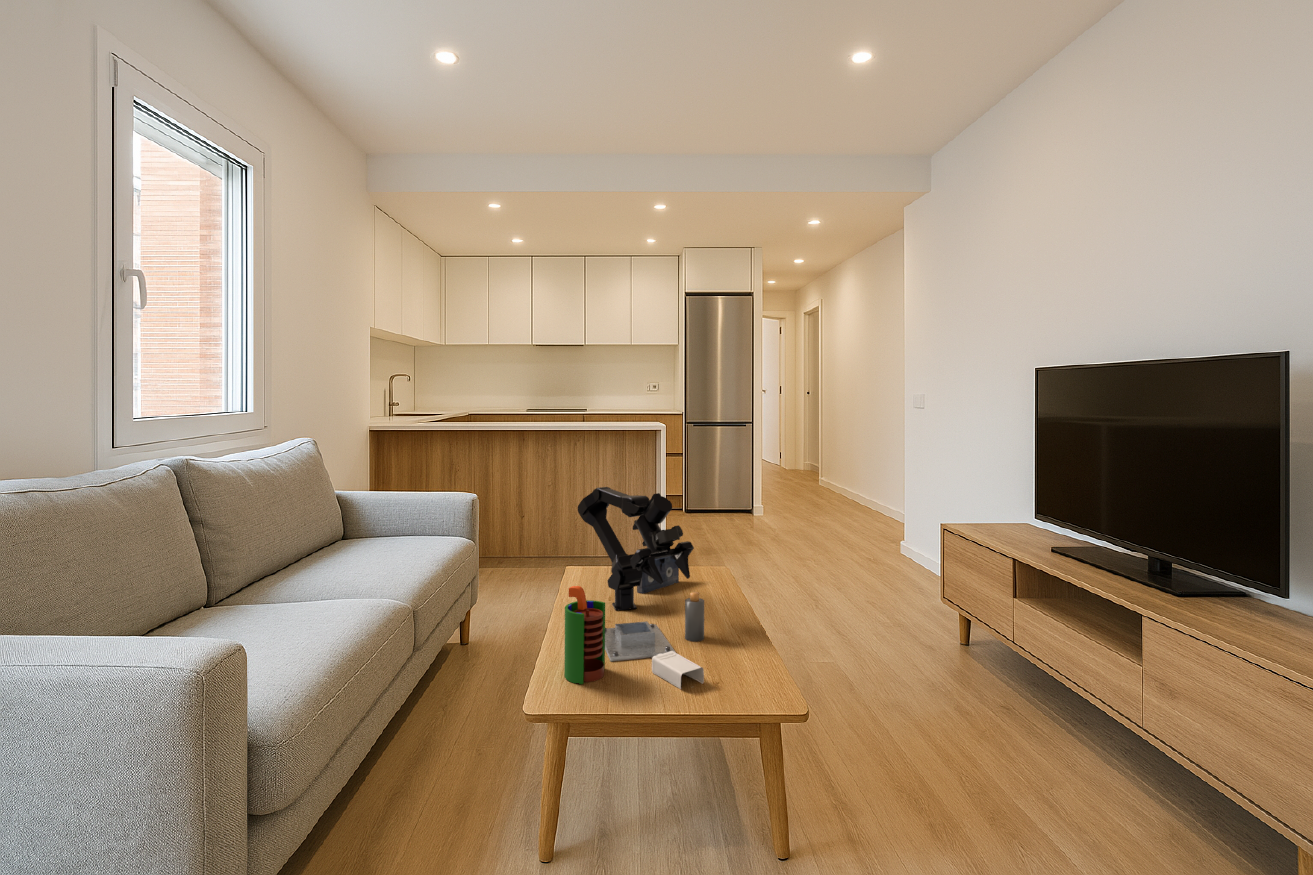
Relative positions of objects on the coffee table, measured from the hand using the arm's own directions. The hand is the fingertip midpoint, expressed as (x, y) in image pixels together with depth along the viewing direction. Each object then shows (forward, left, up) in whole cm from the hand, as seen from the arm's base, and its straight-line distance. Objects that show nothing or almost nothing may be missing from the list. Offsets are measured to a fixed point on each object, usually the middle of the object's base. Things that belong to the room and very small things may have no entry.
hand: (675, 580), depth 178 cm
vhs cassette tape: (-41, +5, -14) cm, 43 cm away
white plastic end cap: (+30, -8, -14) cm, 34 cm away
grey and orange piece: (+7, +3, -13) cm, 16 cm away
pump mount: (+7, -13, -13) cm, 20 cm away
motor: (+23, -28, -14) cm, 39 cm away
